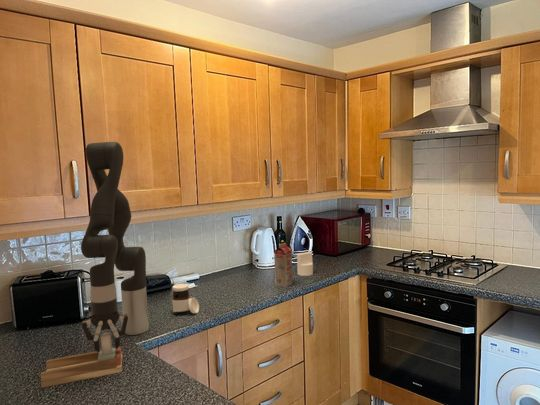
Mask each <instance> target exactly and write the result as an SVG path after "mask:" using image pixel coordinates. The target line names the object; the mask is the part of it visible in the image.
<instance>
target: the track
mask: <svg viewBox="0 0 540 405" xmlns="http://www.w3.org/2000/svg"><path fill="white" fill-rule="evenodd" d="M98 355H99V352H97V351H95V350H94V351H91V352H85V353H79V354H74V355H67V356H62V357H58V358H57V357H56V358H52V359H46V361H45V364H46V365H45V366H46V370H44V371H41V372H40V378H41V380H40V381H41V382H40V383H41V388H47V387H53V386H58V385H63V384H68V383H73V382H77V381H83V380H88V379H93V378H99V377H102V376H103V377H104V376H108V375H115V374H118V373H122V372H123V353H122V350H121V346H119V347H118V349H116V358H114V359H109V360H103V361H98Z"/></svg>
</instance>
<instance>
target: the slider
mask: <svg viewBox="0 0 540 405" xmlns="http://www.w3.org/2000/svg"><path fill="white" fill-rule="evenodd" d="M99 340H100V352H99V355H98V361H103V360H109V359H114V358H116V349H115V347H113V342H112V333H111V332H103V333H100V334H99Z"/></svg>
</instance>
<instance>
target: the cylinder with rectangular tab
mask: <svg viewBox="0 0 540 405" xmlns="http://www.w3.org/2000/svg"><path fill="white" fill-rule="evenodd" d="M296 256H297V257H296V260H297V263H296V268H297V271H296V272H297V275H298V276H301V277H302V276H303V277H308V276H312V275H314V263H313V252H310V251H307V252H300V253H297V255H296Z"/></svg>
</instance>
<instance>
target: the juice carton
mask: <svg viewBox="0 0 540 405" xmlns="http://www.w3.org/2000/svg"><path fill="white" fill-rule="evenodd" d="M292 252H293V250H292V248H291V247H289V246H287V242H283V243H281V244H278V248H276V249H275V250H274V251H273V253H274V254H273V255H274V256H273V257H274V277H275V278H274V279H275V281H274V283H275V284H274V286H279V287H284V288H287V287H289V286H291V285H293V284H294V283H293V254H292Z"/></svg>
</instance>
